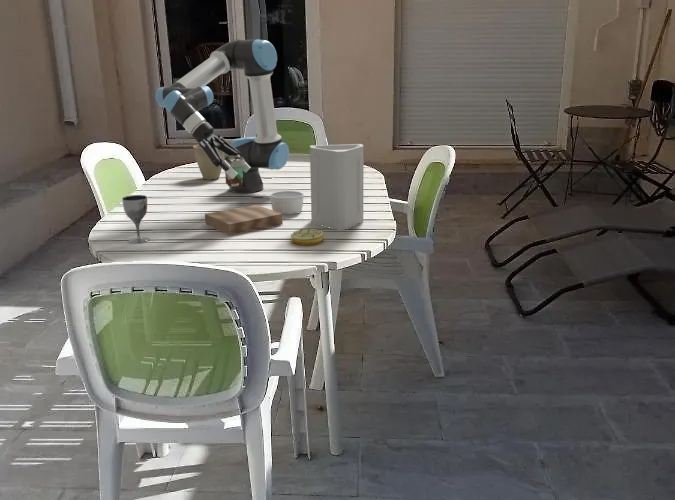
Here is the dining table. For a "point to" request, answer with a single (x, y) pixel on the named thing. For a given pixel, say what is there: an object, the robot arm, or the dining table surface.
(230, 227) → the walnut stand
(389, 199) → the dining table surface
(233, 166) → the food container
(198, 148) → the plant pot
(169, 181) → the dining table surface
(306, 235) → the decorated donut
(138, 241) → the wine glass
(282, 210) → the ramekin
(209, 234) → the dining table surface
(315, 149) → the white triangular vase
